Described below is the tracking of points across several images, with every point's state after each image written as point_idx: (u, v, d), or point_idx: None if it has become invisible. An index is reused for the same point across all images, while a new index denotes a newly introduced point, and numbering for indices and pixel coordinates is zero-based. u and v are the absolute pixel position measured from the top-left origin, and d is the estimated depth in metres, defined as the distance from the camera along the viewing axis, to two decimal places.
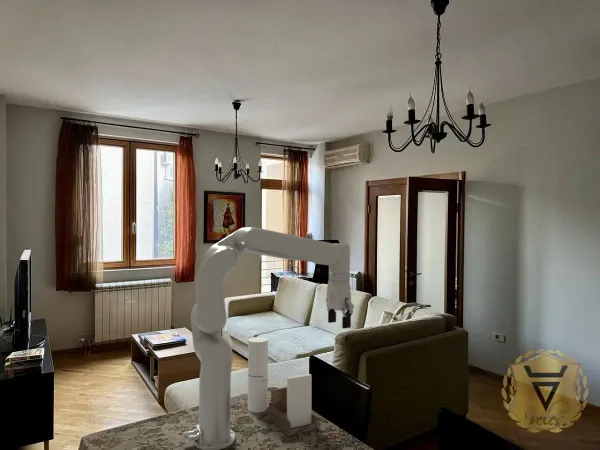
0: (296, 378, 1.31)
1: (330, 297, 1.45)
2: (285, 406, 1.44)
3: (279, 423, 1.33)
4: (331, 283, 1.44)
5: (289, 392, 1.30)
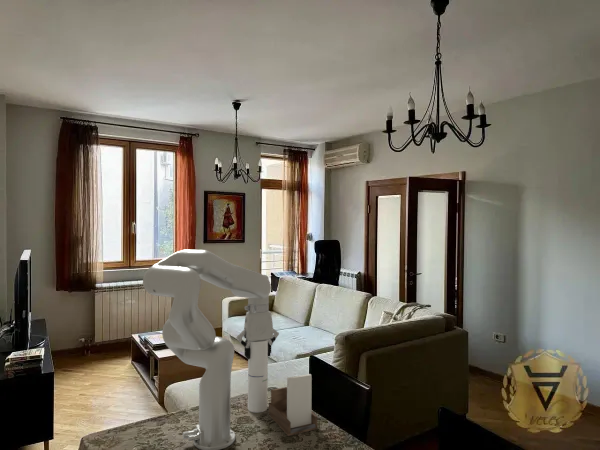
0: (296, 378, 1.31)
1: (257, 330, 1.44)
2: (285, 406, 1.44)
3: (279, 423, 1.33)
4: (258, 315, 1.45)
5: (289, 392, 1.30)
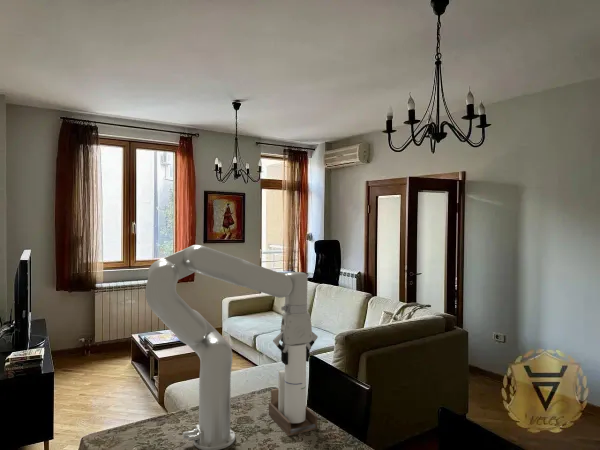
0: None
1: (295, 332, 1.32)
2: None
3: (279, 423, 1.33)
4: (296, 317, 1.32)
5: (280, 385, 1.36)
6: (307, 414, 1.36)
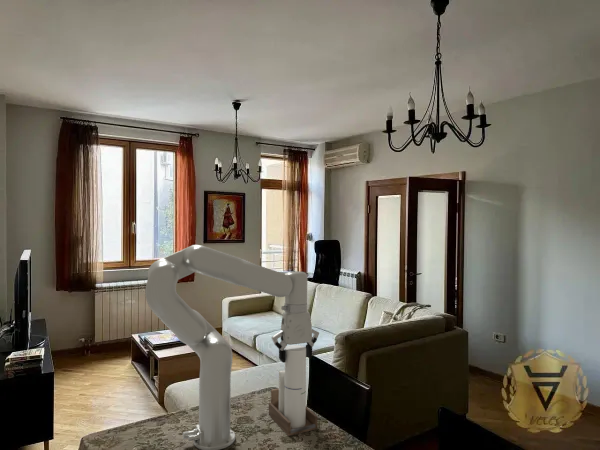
0: None
1: (295, 332, 1.32)
2: None
3: (279, 423, 1.33)
4: (296, 316, 1.32)
5: (281, 385, 1.36)
6: (307, 414, 1.36)
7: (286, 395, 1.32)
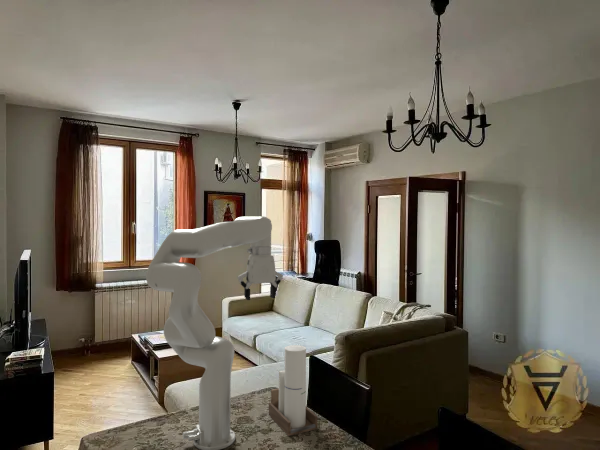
0: None
1: (259, 272, 1.43)
2: None
3: (279, 423, 1.33)
4: (260, 258, 1.43)
5: (281, 385, 1.36)
6: (307, 414, 1.36)
7: (286, 395, 1.32)
